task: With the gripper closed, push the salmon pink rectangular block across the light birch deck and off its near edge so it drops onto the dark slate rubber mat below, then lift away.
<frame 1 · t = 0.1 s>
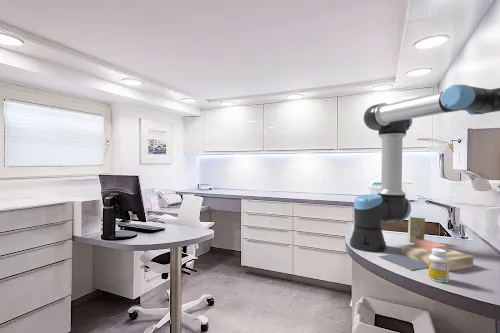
skincare box: (416, 242, 133), on the countertop
salmon pink rectangular block: (430, 248, 110), point 4 cm above the countertop, touching deck
supplement bottle: (438, 280, 89), on the countertop
deck: (435, 260, 107), on the countertop
mat: (404, 261, 105), on the countertop
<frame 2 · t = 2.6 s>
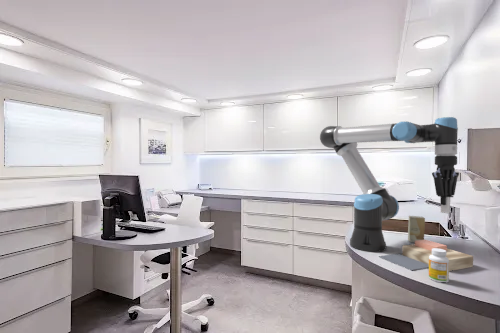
hand: (445, 212, 112), 18 cm above the countertop, fingers closed
nothing on the countertop moved.
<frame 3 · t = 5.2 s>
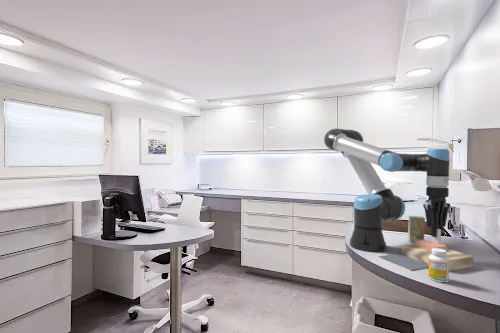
hand: (435, 244, 111), 5 cm above the countertop, fingers closed
salmon pink rectangular block: (430, 248, 110), point 4 cm above the countertop, touching deck, gripper
everything else where it was.
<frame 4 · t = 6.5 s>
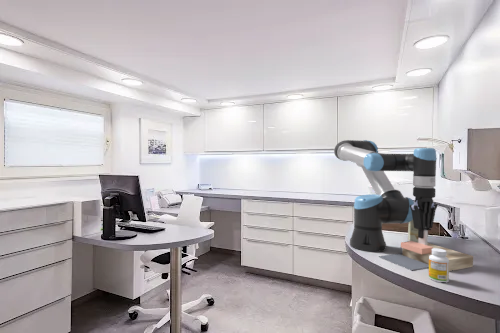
hand: (422, 246, 109), 5 cm above the countertop, fingers closed
salmon pink rectangular block: (416, 249, 107), point 4 cm above the countertop
everything else where it was.
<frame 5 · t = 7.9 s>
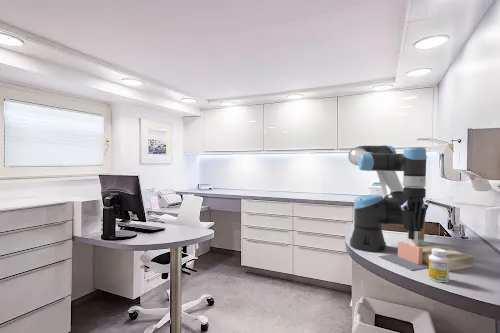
hand: (413, 247, 107), 5 cm above the countertop, fingers closed
salmon pink rectangular block: (411, 252, 106), point 3 cm above the countertop, tilted 88°, touching mat
everything else where it was.
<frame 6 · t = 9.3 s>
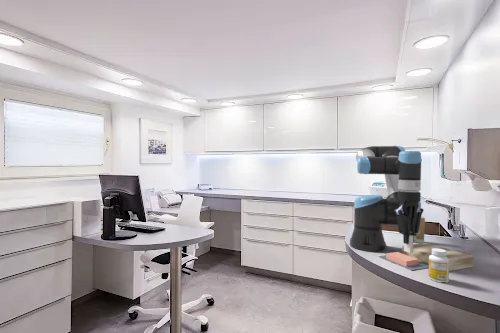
hand: (408, 251, 106), 4 cm above the countertop, fingers closed
salmon pink rectangular block: (401, 256, 104), point 2 cm above the countertop, tilted 180°, touching mat
everything else where it was.
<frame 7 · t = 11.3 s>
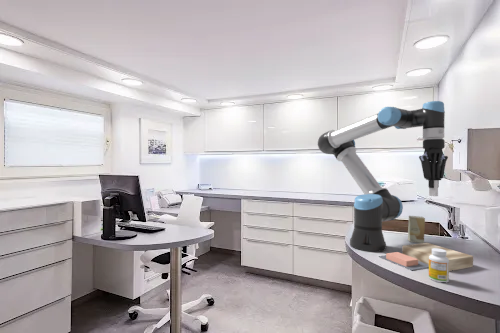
hand: (433, 195, 113), 25 cm above the countertop, fingers closed
nothing on the countertop moved.
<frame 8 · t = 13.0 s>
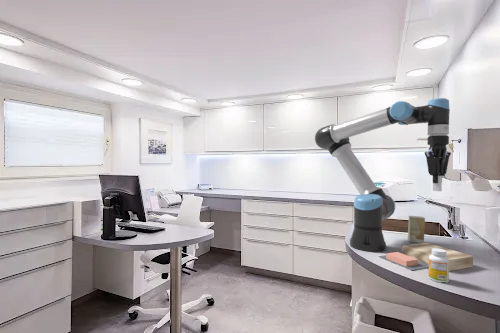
hand: (437, 190, 116), 26 cm above the countertop, fingers closed
nothing on the countertop moved.
at the end: salmon pink rectangular block inside the target area on the mat (1.6 cm from its centre), point 2.3 cm above the mat's base; the gripper is holding nothing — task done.
